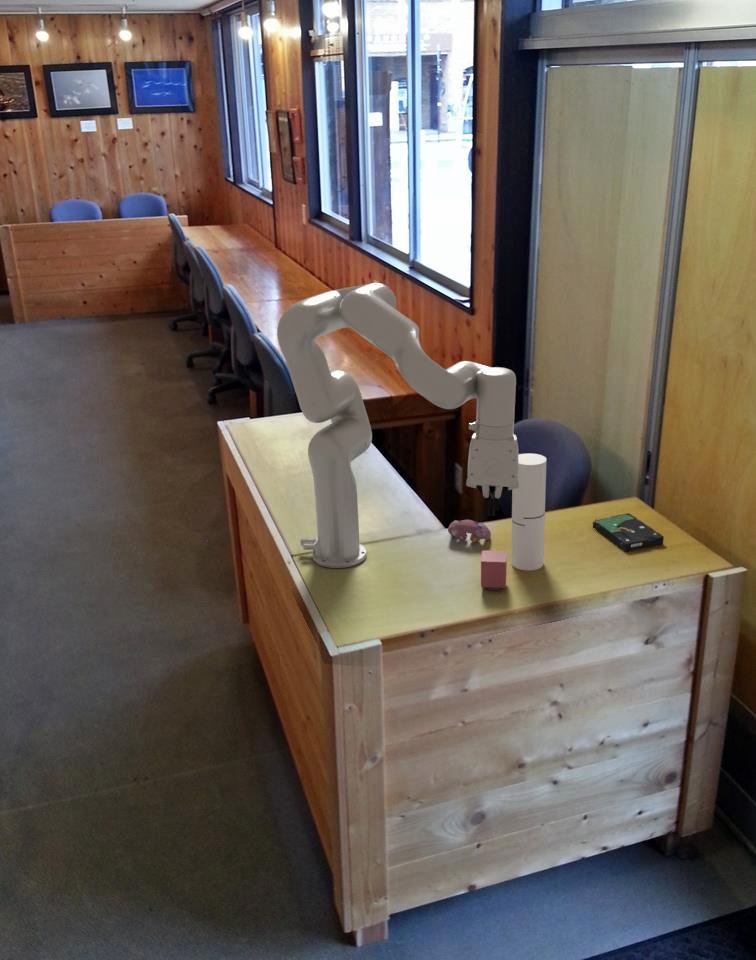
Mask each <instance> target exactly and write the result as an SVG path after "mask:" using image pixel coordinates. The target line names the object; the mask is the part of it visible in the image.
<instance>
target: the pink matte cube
mask: <svg viewBox="0 0 756 960" xmlns="http://www.w3.org/2000/svg"><path fill="white" fill-rule="evenodd" d="M507 553H508V551H507V550H482V551H481V557H480V558H481V559H480V587H481V588H488V587H499V588H500V589H501V588H502V589H503V588H504V589H505V588H507V566H508V565H507V560H508V558H507V556H508V554H507Z"/></svg>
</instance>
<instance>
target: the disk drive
mask: <svg viewBox="0 0 756 960" xmlns="http://www.w3.org/2000/svg"><path fill="white" fill-rule="evenodd" d="M594 528H595V529H596V530H597V531H598V533H599V532H600V533H601V534H600V533H599V534H600V535H602V536H603V535H604V536H605V537H604V536H603V537H604V538H606V539H607V538H608V539H609V540H608V539H607V540H608V541H609V542H611V543H612V542H613V544H614V545H615V546H616V545H617V546H616V547H618V549H620V550H621V551H623V552H624V553H628V552H633V551H640V550H643V549H648V548H653V547H654V548H655V547H658V546H663V545H664V536H663V535H662V534H661V533H659V532H658V531H656V530H655V529H653V528H652V527H650V526H649V525H648V524H646V523H644V522H643V521H641V520H640V519H638V518H637V517H636V516H634V515H632V514H631V513H630V512H629V513H624V514H623V513H622V514H617V515H611V516H610V517H606V518H604V517H603V518H599V519H597V518H595V519H594V521H592V529H594ZM595 529H594V530H595ZM596 530H595V531H596ZM597 531H596V532H597Z"/></svg>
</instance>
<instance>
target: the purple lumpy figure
mask: <svg viewBox="0 0 756 960" xmlns="http://www.w3.org/2000/svg"><path fill="white" fill-rule="evenodd" d="M447 532H448V533H449V535H450V536H451V537H455V538H456V539H457V540H459V541H462V542H465V541H467V538H468V534H470V538H469V539H470V541H471V542H472V543H475V544H477V543H479V542H480V540H486V541H489V540H490V539H491V537H492V532H491V530H490V529H489V528H488V526H487V525H486V524H484V523H483V522H477V521H474V520H473V519H472V520H471V519H464V520H463V519H462V520H457V519H455V520H453V521H452V522H450V524H449V526H448V528H447Z"/></svg>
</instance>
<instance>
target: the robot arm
mask: <svg viewBox="0 0 756 960" xmlns="http://www.w3.org/2000/svg"><path fill="white" fill-rule="evenodd" d="M397 304H398V301H397V298H396V295H395V292H394V291H393V290H392V289H391V288H389V286H387V285H385V284H383V283H379V282H371V283H367V284H362V285H357V286H350V287H343V288H338V289H334V290H333V289H332V290H328V291H326V292H321V293H319V294H316V295H313V296H310V297H309V296H308V297H307V298H305V299H301V300H300V301H297V302H296V303H294V304H292V305H291V306H289V307H288V308H287V309H286V310H285V311H284V312H283V314H282V315H281V316H280V318H279V321H278V323H277V324H278V325H277V328H276V329H277V330H276V335H277V341H278V345H279V348H280V351H281V353H282V355H283V358H284V360H285V362H286V365H287V368H288V371H289V376H290V378H291V382H292V385H293V389H294V392H295V394H296V397H297V401H298V404H299V408H300V410H301V411H302V415H303V416H304V418H305V419H306V420H307V421H309V422H311V423H313V424H321V423H324V422H327V421H329V420H330V421H331V423H330V424H328V425H326V426H324V427H323V428H321V429H320V430H319V431H317V432H316V433H314V435H313V436H312V438H311V439H310V441H309V444H308V447H307V457H308V461H309V464H310V465H309V466H310V467H311V472H312V473H311V474H312V478H313V487H314V500H315V514H316V527H317V528H316V530H317V536H314V538H312V537H311V538H309V537H301V538H300V547H303V550H305V551H306V550H307V551H308V550H311V551H312V554H311V555H312V556H311V557H312V560H313V561H314V563H315V564H317V565H319V566H322V567H324V568H328V569H329V568H332V569H344V568H350V567H353V566H356V565H358V564H361V563H362V562H363V561H365V559H366V558H367V556H368V554H367V553H368V551H367V549H366V547H365V546H364V544H363V545H362V544H361V543H360V542H361V541H360V529H359V528H360V526H359V505H358V503H359V502H358V490H357V489H358V487H357V480H356V477H355V475H354V474H355V473H354V471H353V469H352V465H351V463H352V462H354V460H355V459H356V458H358V457H360V456H361V455H363V454H364V453H365V452H366V451H368V450H369V448H370V446H371V444H372V440H373V431H372V427H371V424H370V420H369V416H368V413H367V410H366V406H365V404H364V399H363V396H362V393H361V390H360V387H359V385H358V383H357V381H356V380H355V379H354V377H352V376H351V375H350V374H349V373H347V372H346V371H343V370H341V369H334V370H330V368H329V363H328V360H327V358H326V355H325V353H324V351H323V349H322V348H321V347H320V346H319V345H318V344H317V342H316V341H317V339H319V338H320V337H323V336H326V335H328V334H331V333H333V332H335V331H338V330H341V329H344V328H350V329H352V331H354V332H355V333H357V334H358V335H360V336H361V337H362V338H364V340H367V342H369V343H370V344H372V345H373V346H374V347H375V348H377V349H379V350H380V351H381V352H382V353H384V354H385V355H387V356H388V357H390V359H391V360H393V362H394V364H395V366H396V369H397V371H398V372H399V373H400V375H401V376H402V378H403V379H404V381H405V382H406V383H407V385H409V387H411V388H412V389H413V391H415V392H417V394H419V395H420V396H421V397H423V398H425V400H427V401H429V402H430V403H432V404H433V405H435V406H436V407H439V408H442V409H445V410H454V409H457V408H459V407H461V406H462V405H464V404H466V402H468V401H471V400H472V399H476V421H474V422H469V423H468V430H470V431H474V433H473V434H472V436H471V440H470V444H469V450H468V460H467V479H466V483H465V484H466V486H467V487H470V488H474V489H477V491H478V492H480V493H481V494H482V496H483V498H484V505H483V510H484V511H486V512H487V513H486V516H492V517H495V516H496V511H500V510H499V509H500V498H501V496H502V495H504V494H505V493H507V492H508V491H511V490H512V489H517V488H519V482H518V466H519V459H518V455H519V444H518V438H517V435H516V434H514V430H515V429H514V427H515V414H516V413H515V407H516V390H517V389H516V386H517V377H516V373H515V372H514V371H513V370H512V369H509V368H506V367H499V366H495V367H492V366H487V365H484V364H480V363H477V362H474V361H470V360H469V361H468V360H462V361H459V362H456V363H455V364H453V365H451V366H450V367H448V368H446V369H445V368H444V367H442V366H441V365H439V364H438V363H437V362H435V361H434V360H433V359H432V358H430V356H428V355H427V354H426V353H425V351H424V350H423V348H422V346H421V342H420V327H419V326H418V325H417V323H415V321H413V320H412V319H410V318H408V316H405V314H403V313H402V312H400V311H398V310H397V308H398V307H397V306H398V305H397ZM490 487H495V490H494V491H493V493H492V491H491V490H490Z"/></svg>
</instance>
